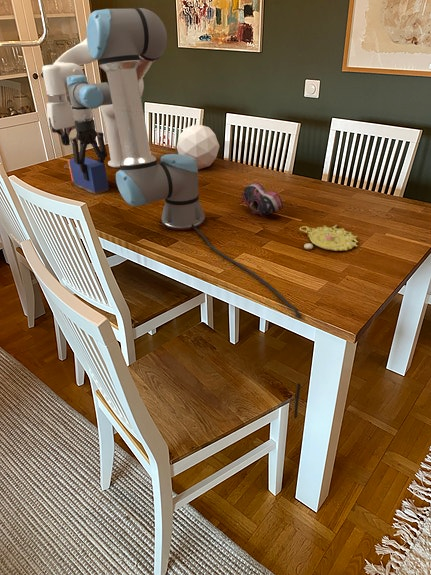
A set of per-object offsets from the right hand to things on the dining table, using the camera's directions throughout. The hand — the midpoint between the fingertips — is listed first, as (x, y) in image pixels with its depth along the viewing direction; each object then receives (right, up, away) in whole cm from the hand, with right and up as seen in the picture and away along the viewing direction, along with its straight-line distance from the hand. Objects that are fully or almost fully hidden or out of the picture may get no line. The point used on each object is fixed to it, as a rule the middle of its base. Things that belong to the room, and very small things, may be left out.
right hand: (94, 177), depth 183 cm
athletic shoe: (+66, -18, -21) cm, 71 cm away
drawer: (-7, 0, +9) cm, 12 cm away
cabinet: (-3, -3, +5) cm, 7 cm away
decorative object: (+86, -30, -42) cm, 101 cm away
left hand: (-14, +15, +6) cm, 21 cm away
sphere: (+42, +11, +25) cm, 51 cm away
